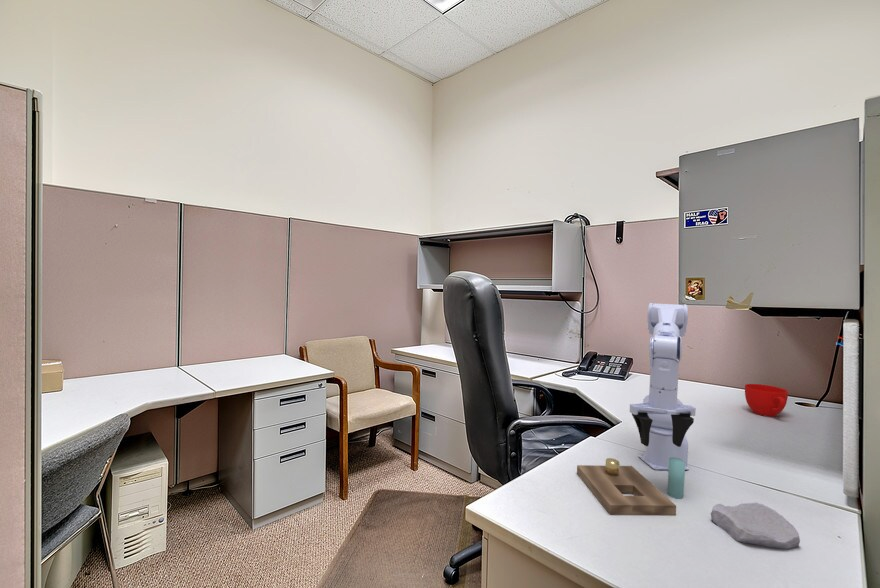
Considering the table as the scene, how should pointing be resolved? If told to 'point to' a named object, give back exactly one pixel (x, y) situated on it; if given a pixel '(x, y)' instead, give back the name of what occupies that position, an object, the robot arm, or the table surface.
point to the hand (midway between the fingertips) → (660, 444)
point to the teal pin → (676, 478)
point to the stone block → (756, 525)
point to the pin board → (624, 490)
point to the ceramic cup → (765, 399)
